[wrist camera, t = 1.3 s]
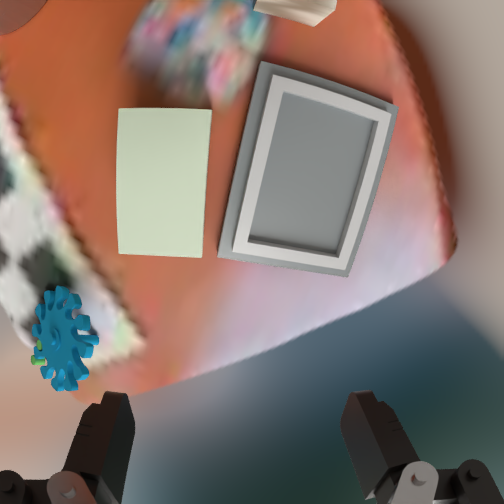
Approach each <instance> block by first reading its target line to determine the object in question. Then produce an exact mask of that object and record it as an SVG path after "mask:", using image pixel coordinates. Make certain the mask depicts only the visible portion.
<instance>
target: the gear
mask: <svg viewBox="0 0 504 504" xmlns="http://www.w3.org/2000/svg"><path fill="white" fill-rule="evenodd" d="M66 299H67V301H66V304H65V305H64V307H63V303H64V301H65V300H66ZM44 300H45V304H40V303H39V304H38V305H37V307H36V309H35V312H36V315H37V316H38V318H39V320H40V323H41V324H33V328H32V335H33V336H35V337H38V339H39V340H37V346H35V347H34V355H32V356H31V362H32V364H33V365H44V364H45V358H46V360H47V366H41V368H40V370H41V374H42V376H43V378H44V379H50V378H52V376H53V372H54V370H55V371H56V376H55V378H53V379H52V380H51V385H52V387H53V388H54V389H55V390H56V391H63V390H64V389H65V390H66V391H73V390H78V383H77V381H76V380H85V379H86V378H87V377H88V376H89V371H88V369H87V367H86V366H85V365H84V364H83V362H82V361H81V358H80V356H81V357H82V358H91V356H92V354H93V348H94V346H93V345H98V344H99V337H98V336H97V335H78V332H77V329H78V330H84V331H88V330H90V317H89V316H88V315H78V316H77V317H76V318H75V319H73V318H72V310H73V309H80V308H81V306H82V302H81V299H80V297H79V295H78V294H73V293H71V294H69V290H68V289H67V288H66V287H64V286H58V285H57V287H56V291H49V290H48V291H45V292H44ZM64 377H65V380H64Z"/></svg>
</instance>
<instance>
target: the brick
mask: <svg viewBox="0 0 504 504" xmlns="http://www.w3.org/2000/svg"><path fill="white" fill-rule="evenodd" d="M211 121H212V110H207V109H184V108H119V113H118V131H117V161H116V201H117V231H118V249H119V254H137V255H156V256H177V257H198V258H202V249H203V236H204V218H205V201H206V185H207V171H208V157H209V144H210V132H211Z"/></svg>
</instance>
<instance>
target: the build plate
mask: <svg viewBox="0 0 504 504" xmlns="http://www.w3.org/2000/svg"><path fill="white" fill-rule="evenodd" d="M398 108H399V107H397V106H395V105H393V104H390V103H388V102H386V101H383V100H381V99H378V98H376V97H374V96H371V95H369V94H366V93H363V92H361V91H358V90H355V89H353V88H350V87H347V86H344V85H342V84H339V83H336V82H333V81H330V80H327V79H324V78H321V77H318V76H314V75H311V74H308V73H305V72H301V71H298V70H294V69H291V68H287V67H283V66H280V65H276V64H272V63H268V62H264V61H261V62H260V63H259V67H258V71H257V75H256V79H255V83H254V87H253V91H252V95H251V100H250V104H249V108H248V112H247V116H246V121H245V125H244V129H243V134H242V138H241V142H240V147H239V151H238V156H237V160H236V165H235V169H234V174H233V178H232V183H231V188H230V192H229V197H228V202H227V207H226V211H225V216H224V221H223V226H222V231H221V236H220V241H219V246H218V251H217V257H220V258H226V259H232V260H238V261H245V262H251V263H257V264H264V265H270V266H276V267H283V268H289V269H296V270H302V271H309V272H315V273H322V274H328V275H335V276H341V277H348V276H349V273H350V270H351V267H352V265H353V262H354V259H355V256H356V253H357V250H358V247H359V245H360V242H361V239H362V236H363V233H364V230H365V227H366V224H367V221H368V217H369V214H370V211H371V208H372V205H373V202H374V198H375V195H376V192H377V188H378V185H379V181H380V178H381V175H382V171H383V167H384V164H385V160H386V157H387V153H388V149H389V145H390V141H391V137H392V133H393V129H394V125H395V121H396V117H397V113H398Z"/></svg>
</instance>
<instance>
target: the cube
mask: <svg viewBox="0 0 504 504" xmlns="http://www.w3.org/2000/svg"><path fill="white" fill-rule="evenodd" d="M336 3H337V0H256V3H255V6H254V10H253V11H257V12H262V13H266V14H270V15H274V16H278V17H282V18H285V19H289V20H293V21H296V22H299V23H303V24H306V25H309V26H312V27H314V26H316V25H317V24H318V23H319V22H321V21H322V20H323V19H324V18H326V17H327V16H328V15H329V14H331V13H332V12H333V11H335V8H336Z"/></svg>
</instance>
